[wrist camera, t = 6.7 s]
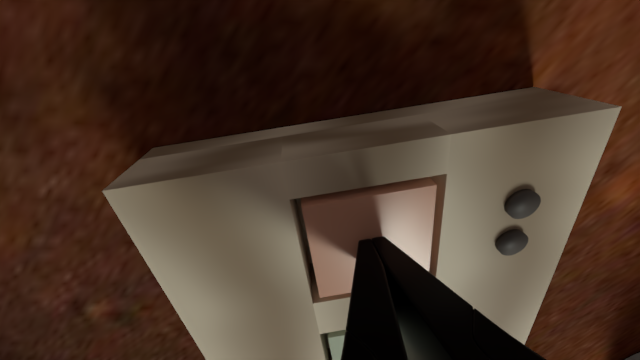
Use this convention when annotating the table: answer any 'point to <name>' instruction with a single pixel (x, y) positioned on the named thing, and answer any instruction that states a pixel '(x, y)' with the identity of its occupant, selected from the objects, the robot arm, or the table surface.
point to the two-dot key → (367, 227)
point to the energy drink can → (634, 357)
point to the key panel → (352, 173)
